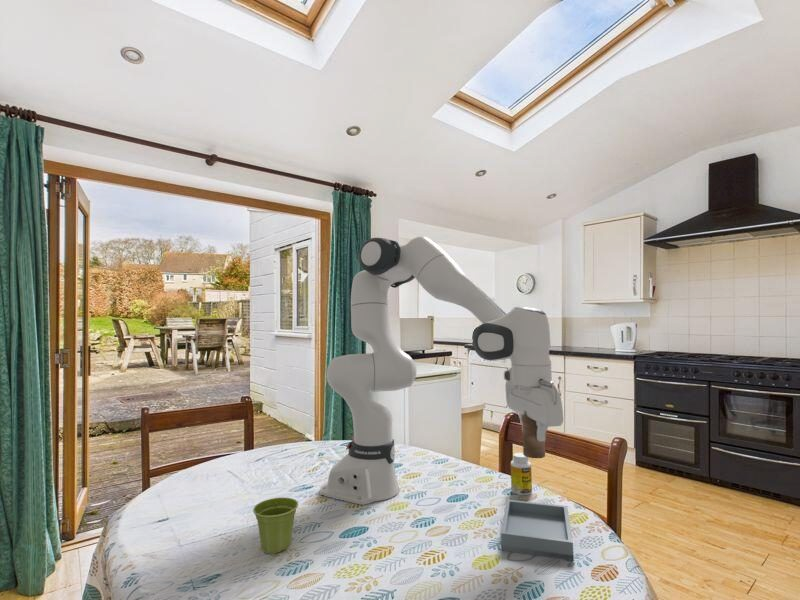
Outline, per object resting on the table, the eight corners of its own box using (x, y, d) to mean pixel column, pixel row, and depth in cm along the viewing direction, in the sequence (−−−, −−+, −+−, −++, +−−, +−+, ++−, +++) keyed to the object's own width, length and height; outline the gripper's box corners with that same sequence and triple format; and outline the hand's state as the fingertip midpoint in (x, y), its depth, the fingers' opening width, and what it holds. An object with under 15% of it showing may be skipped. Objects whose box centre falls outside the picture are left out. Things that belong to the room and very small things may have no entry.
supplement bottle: (522, 498, 114) (521, 459, 115) (507, 491, 119) (505, 454, 119) (536, 492, 117) (535, 455, 118) (520, 486, 122) (519, 450, 122)
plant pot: (262, 535, 97) (262, 497, 98) (303, 535, 97) (302, 496, 97) (246, 558, 88) (246, 516, 88) (291, 558, 88) (291, 515, 88)
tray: (501, 550, 89) (501, 533, 89) (507, 513, 105) (506, 499, 105) (573, 560, 85) (572, 542, 85) (567, 521, 101) (567, 506, 101)
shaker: (519, 455, 98) (518, 410, 98) (528, 450, 101) (527, 407, 102) (540, 459, 95) (538, 413, 95) (548, 454, 98) (547, 409, 99)
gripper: (569, 382, 89) (572, 449, 88) (523, 370, 109) (525, 425, 109) (542, 384, 88) (544, 451, 87) (500, 371, 108) (502, 426, 107)
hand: (533, 436), depth 98 cm, fingers closed on shaker, 5 cm apart
